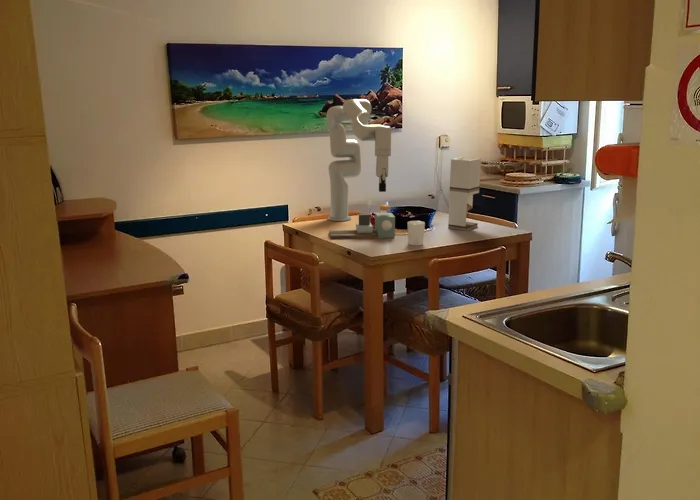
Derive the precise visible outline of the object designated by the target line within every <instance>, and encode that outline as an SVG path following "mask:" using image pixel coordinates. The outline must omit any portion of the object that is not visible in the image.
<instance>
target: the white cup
mask: <svg viewBox="0 0 700 500" xmlns="http://www.w3.org/2000/svg"><path fill="white" fill-rule="evenodd" d="M425 226H426V223H425V221H421V220H410V221H407V243H408V245H410V244H411V245H410V246H422V245H424V237H425V230H426V229H425Z"/></svg>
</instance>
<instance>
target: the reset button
mask: <svg viewBox="0 0 700 500" xmlns="http://www.w3.org/2000/svg"><path fill="white" fill-rule="evenodd" d="M379 210H381V211H390V210H391V205H389V204H381V205H379Z"/></svg>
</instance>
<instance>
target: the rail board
mask: <svg viewBox="0 0 700 500" xmlns="http://www.w3.org/2000/svg"><path fill="white" fill-rule="evenodd" d="M328 234H329V237H330V239H331V240H342V239H343V240H344V239H345V240H349V239H351V240H352V239H355V240H356V239H377V238H378V237H377V234H376V232H375V229H373V231H372V233H357V230H356V229H336V230H335V229H333V230H332V229H331V230H329V231H328Z"/></svg>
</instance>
